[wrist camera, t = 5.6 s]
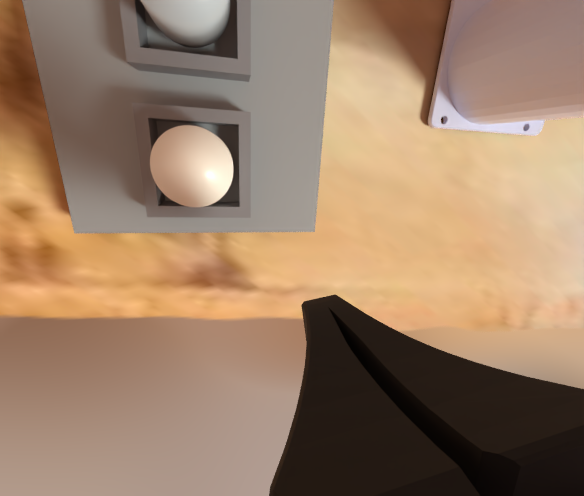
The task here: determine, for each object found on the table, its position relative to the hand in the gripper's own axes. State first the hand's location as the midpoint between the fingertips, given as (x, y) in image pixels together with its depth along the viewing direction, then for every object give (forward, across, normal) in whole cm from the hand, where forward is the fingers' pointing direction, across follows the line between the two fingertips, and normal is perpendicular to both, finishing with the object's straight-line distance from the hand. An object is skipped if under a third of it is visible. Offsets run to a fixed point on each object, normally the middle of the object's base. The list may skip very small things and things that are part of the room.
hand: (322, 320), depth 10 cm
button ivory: (+8, +4, -6) cm, 11 cm away
